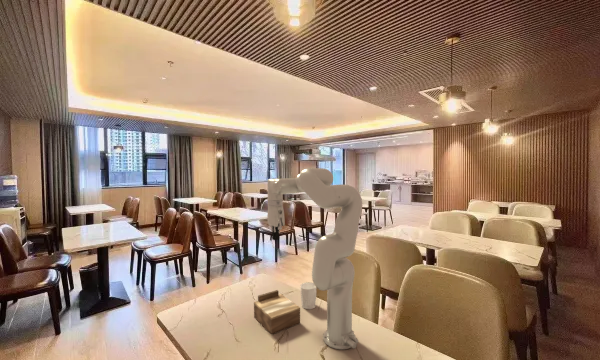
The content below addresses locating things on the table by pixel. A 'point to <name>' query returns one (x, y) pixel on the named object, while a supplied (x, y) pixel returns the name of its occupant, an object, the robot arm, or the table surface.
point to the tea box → (276, 320)
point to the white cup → (308, 295)
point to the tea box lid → (275, 304)
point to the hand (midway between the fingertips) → (275, 239)
